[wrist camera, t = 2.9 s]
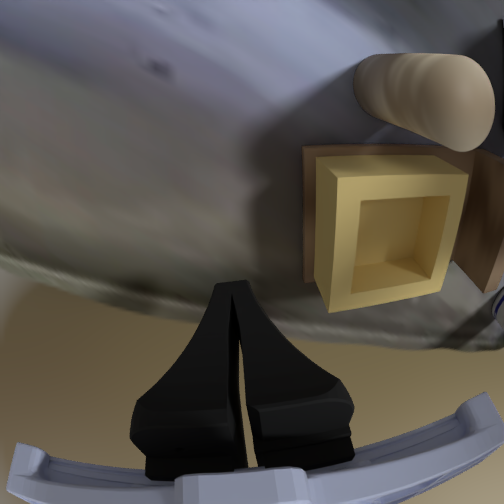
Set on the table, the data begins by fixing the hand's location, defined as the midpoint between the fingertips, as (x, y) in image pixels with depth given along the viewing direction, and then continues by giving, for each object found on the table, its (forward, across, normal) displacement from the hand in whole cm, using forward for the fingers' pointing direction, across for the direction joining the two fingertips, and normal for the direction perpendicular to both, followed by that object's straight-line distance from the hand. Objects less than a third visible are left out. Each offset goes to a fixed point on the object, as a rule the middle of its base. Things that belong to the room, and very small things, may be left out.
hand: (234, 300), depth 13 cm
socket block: (+7, -9, 0) cm, 11 cm away
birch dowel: (+7, -10, -8) cm, 14 cm away
